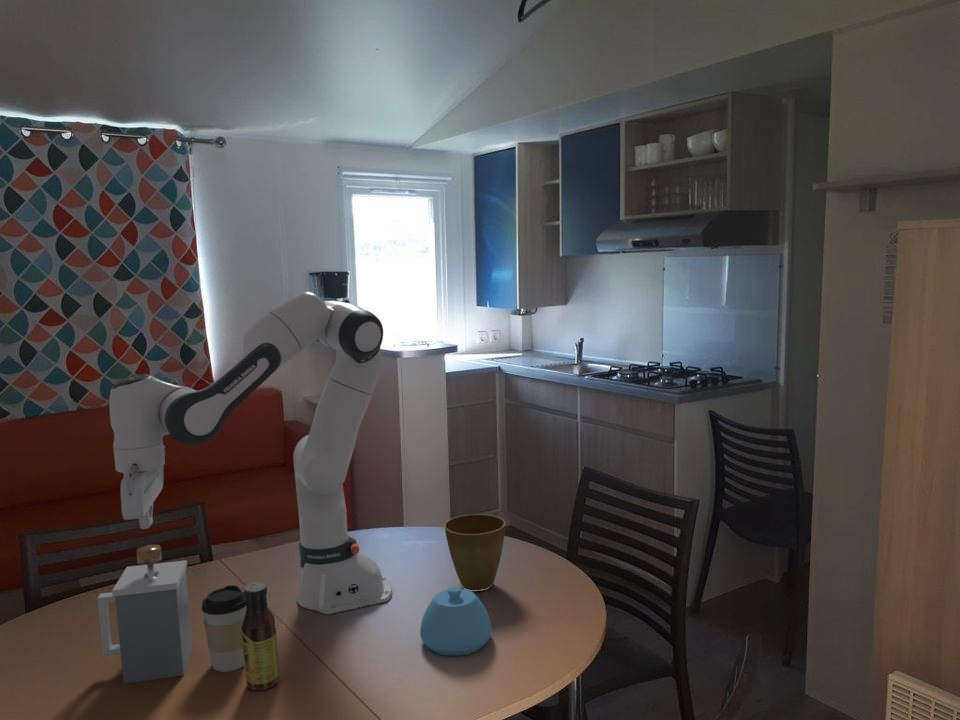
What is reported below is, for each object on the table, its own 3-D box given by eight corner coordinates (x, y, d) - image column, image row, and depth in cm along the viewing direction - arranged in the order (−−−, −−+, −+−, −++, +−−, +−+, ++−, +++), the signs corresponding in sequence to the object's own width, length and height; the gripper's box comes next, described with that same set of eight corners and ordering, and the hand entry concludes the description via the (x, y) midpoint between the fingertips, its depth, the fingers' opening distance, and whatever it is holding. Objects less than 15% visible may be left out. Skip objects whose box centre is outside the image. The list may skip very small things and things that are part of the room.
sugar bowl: (500, 628, 162) (499, 578, 160) (478, 664, 148) (476, 609, 146) (436, 620, 167) (434, 570, 165) (409, 653, 152) (406, 600, 151)
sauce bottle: (250, 675, 146) (242, 579, 143) (282, 673, 146) (275, 577, 144) (242, 694, 139) (234, 594, 137) (276, 692, 140) (269, 591, 137)
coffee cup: (239, 676, 146) (233, 603, 144) (197, 672, 148) (191, 601, 146) (261, 652, 154) (256, 584, 153) (221, 649, 156) (216, 581, 154)
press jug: (194, 646, 158) (186, 560, 155) (185, 675, 147) (176, 583, 144) (114, 657, 154) (105, 569, 152) (98, 688, 143) (88, 593, 141)
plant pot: (518, 580, 186) (516, 518, 184) (486, 604, 173) (484, 538, 171) (468, 569, 194) (466, 509, 192) (434, 591, 181) (432, 527, 179)
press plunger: (171, 643, 153) (162, 543, 150) (167, 653, 149) (158, 551, 146) (148, 646, 152) (139, 545, 149) (144, 657, 148) (134, 554, 145)
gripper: (145, 470, 136) (153, 543, 138) (166, 445, 156) (172, 508, 158) (108, 474, 135) (116, 547, 136) (134, 447, 154) (140, 511, 156)
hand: (146, 526), depth 147 cm, fingers closed
